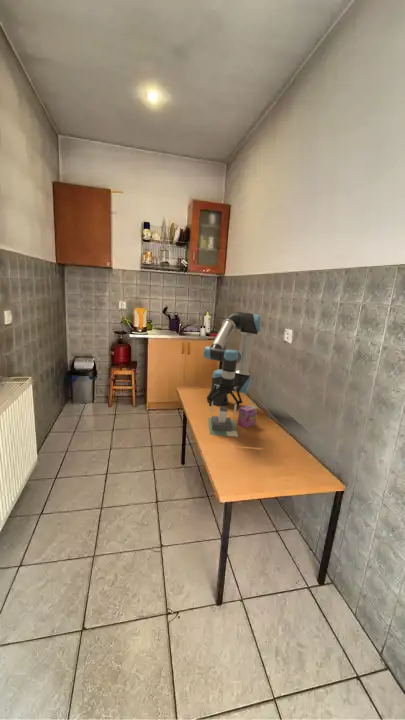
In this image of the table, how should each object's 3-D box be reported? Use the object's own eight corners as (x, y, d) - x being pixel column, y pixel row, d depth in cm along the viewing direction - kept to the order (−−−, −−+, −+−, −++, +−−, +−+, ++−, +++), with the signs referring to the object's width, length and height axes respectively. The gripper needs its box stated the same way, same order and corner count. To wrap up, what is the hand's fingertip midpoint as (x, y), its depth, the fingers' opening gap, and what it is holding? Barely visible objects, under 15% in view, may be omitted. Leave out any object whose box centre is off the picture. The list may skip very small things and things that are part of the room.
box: (244, 429, 175) (246, 410, 172) (236, 425, 179) (239, 407, 176) (255, 425, 182) (258, 407, 179) (248, 421, 186) (250, 404, 183)
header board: (208, 418, 183) (208, 412, 182) (233, 421, 184) (234, 414, 183) (209, 435, 162) (210, 428, 161) (238, 438, 163) (239, 431, 162)
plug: (217, 424, 175) (219, 405, 172) (224, 425, 175) (226, 406, 172) (217, 427, 171) (220, 408, 168) (224, 428, 171) (227, 409, 168)
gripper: (205, 377, 162) (201, 413, 167) (251, 381, 163) (245, 417, 168) (205, 373, 169) (201, 407, 174) (248, 377, 170) (243, 412, 175)
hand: (222, 412), depth 171 cm, fingers open, 13 cm apart
